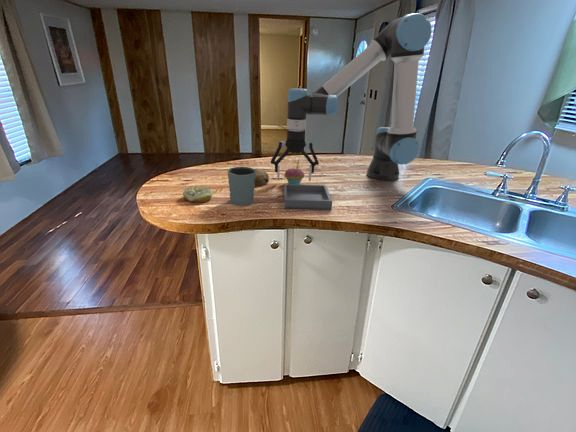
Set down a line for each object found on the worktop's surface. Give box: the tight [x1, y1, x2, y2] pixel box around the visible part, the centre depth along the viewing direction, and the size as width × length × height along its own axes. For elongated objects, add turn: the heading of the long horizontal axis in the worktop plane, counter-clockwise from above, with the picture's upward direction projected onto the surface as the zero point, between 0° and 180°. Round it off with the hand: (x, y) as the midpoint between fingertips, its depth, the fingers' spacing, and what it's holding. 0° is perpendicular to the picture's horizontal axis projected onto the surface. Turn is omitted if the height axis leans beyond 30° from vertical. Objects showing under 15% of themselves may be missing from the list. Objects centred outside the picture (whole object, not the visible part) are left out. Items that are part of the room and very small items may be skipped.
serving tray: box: [283, 183, 333, 211], centre depth 117 cm, size 17×17×4 cm
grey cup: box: [227, 166, 256, 207], centre depth 113 cm, size 10×10×12 cm
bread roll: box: [254, 168, 270, 187], centre depth 135 cm, size 10×10×8 cm
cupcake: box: [283, 159, 305, 184], centre depth 132 cm, size 9×8×12 cm
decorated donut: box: [182, 185, 213, 204], centre depth 116 cm, size 10×11×4 cm
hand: (294, 179), depth 133 cm, fingers open, 13 cm apart
